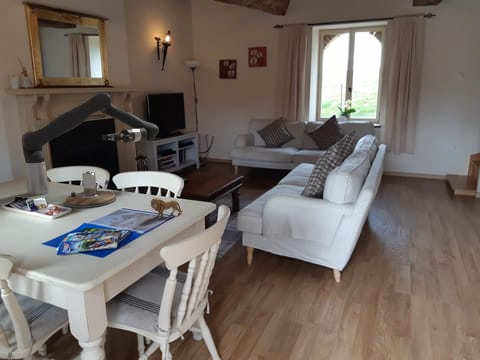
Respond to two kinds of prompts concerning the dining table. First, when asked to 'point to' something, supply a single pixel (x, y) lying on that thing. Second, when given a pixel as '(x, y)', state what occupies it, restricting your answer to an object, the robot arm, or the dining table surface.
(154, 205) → the lion figurine
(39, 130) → the robot arm
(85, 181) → the canister
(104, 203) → the turntable base
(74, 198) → the turntable
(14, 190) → the dining table surface
